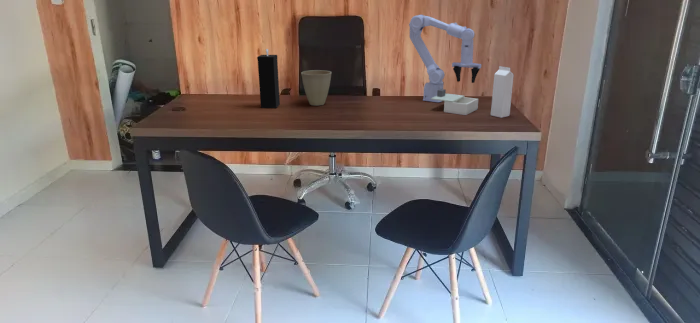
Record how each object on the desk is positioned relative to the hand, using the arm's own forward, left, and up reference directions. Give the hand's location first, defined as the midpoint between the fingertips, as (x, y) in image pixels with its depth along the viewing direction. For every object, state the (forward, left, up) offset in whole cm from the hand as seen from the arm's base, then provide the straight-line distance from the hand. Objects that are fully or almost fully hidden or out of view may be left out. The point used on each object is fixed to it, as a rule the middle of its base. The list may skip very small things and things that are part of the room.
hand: (465, 82), depth 245 cm
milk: (+24, -16, -11) cm, 30 cm away
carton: (+5, -17, -11) cm, 20 cm away
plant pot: (-60, -44, -11) cm, 75 cm away
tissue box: (-76, -61, -11) cm, 98 cm away
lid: (-2, -17, -5) cm, 18 cm away
